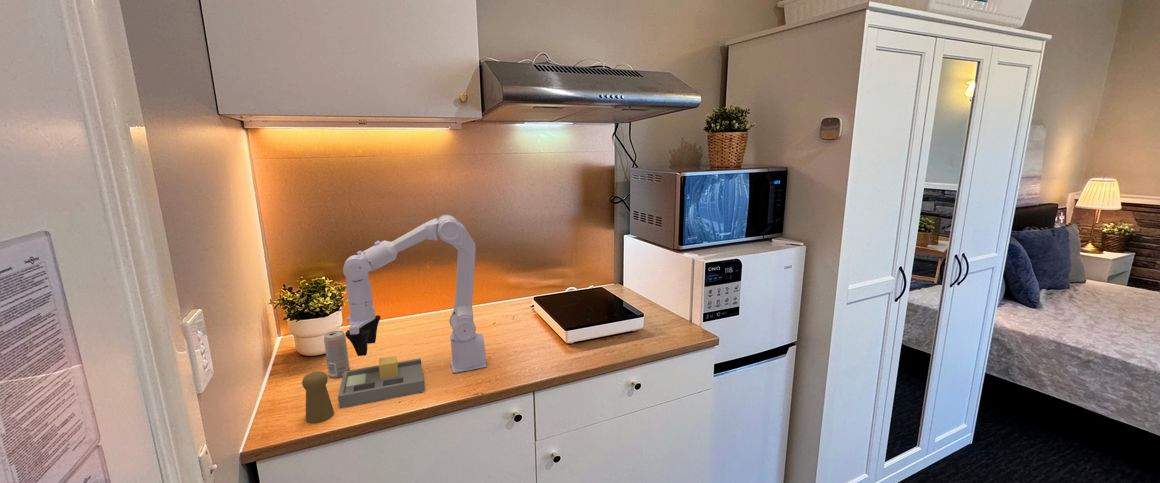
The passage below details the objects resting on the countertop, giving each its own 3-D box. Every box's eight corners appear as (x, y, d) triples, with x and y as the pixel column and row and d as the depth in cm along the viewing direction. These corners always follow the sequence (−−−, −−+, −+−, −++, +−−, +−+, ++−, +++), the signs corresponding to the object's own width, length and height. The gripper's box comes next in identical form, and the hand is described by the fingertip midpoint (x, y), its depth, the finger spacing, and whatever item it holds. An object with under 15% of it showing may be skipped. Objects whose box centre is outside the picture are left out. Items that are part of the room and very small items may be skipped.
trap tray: (421, 368, 135) (420, 358, 134) (424, 391, 122) (423, 380, 121) (345, 382, 128) (343, 371, 127) (339, 408, 115) (337, 396, 114)
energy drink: (344, 367, 136) (339, 329, 134) (353, 372, 133) (348, 333, 130) (325, 374, 132) (320, 335, 130) (334, 380, 129) (328, 339, 126)
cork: (310, 411, 114) (304, 369, 112) (337, 407, 115) (331, 366, 113) (301, 425, 108) (295, 382, 106) (330, 421, 110) (324, 378, 107)
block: (398, 368, 131) (396, 355, 130) (398, 376, 126) (396, 362, 126) (380, 371, 129) (379, 358, 128) (380, 379, 125) (378, 365, 124)
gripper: (354, 293, 129) (360, 339, 132) (333, 311, 115) (341, 362, 118) (380, 291, 130) (386, 337, 133) (363, 309, 116) (370, 360, 118)
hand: (366, 349), depth 125 cm, fingers open, 7 cm apart
